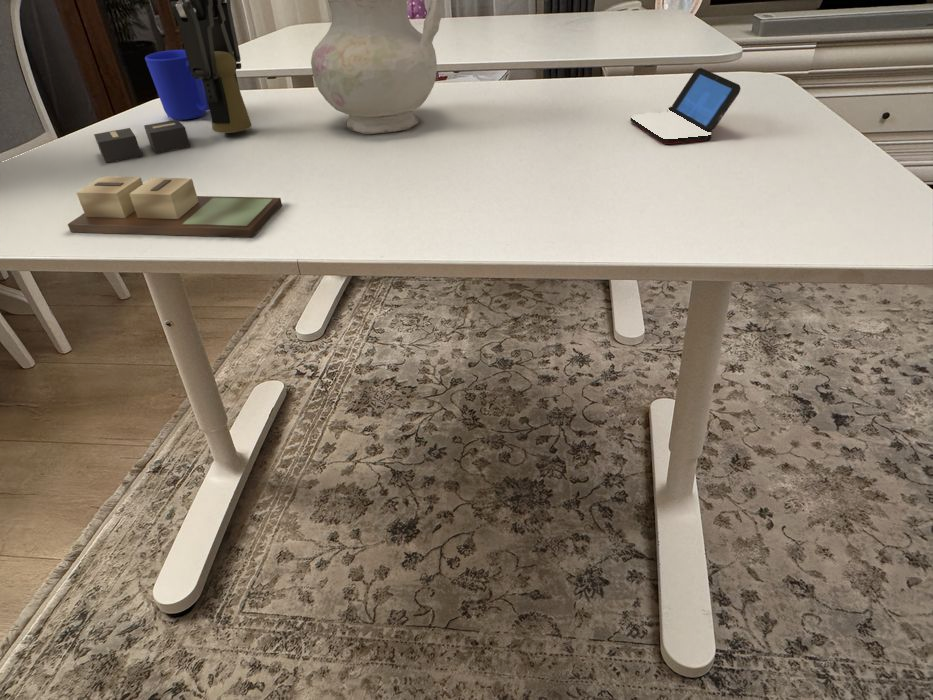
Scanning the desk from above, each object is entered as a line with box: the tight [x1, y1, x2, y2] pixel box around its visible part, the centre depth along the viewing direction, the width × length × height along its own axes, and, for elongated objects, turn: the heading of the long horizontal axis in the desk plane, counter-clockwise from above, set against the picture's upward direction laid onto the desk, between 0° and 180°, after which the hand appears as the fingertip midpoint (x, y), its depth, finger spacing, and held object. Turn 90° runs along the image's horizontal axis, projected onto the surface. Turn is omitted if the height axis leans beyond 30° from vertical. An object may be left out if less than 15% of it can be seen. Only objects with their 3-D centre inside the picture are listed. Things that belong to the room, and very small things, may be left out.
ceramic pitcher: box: [310, 0, 445, 136], centre depth 98 cm, size 22×20×25 cm
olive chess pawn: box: [210, 51, 253, 134], centre depth 99 cm, size 6×6×11 cm
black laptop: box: [629, 67, 741, 145], centre depth 95 cm, size 12×11×7 cm
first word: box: [93, 119, 191, 164], centre depth 97 cm, size 5×12×3 cm, turn 122°
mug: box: [144, 49, 210, 121], centre depth 109 cm, size 8×12×10 cm
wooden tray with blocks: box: [67, 176, 283, 238], centre depth 75 cm, size 22×9×4 cm, turn 82°
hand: (228, 117), depth 102 cm, fingers closed on olive chess pawn, 4 cm apart
